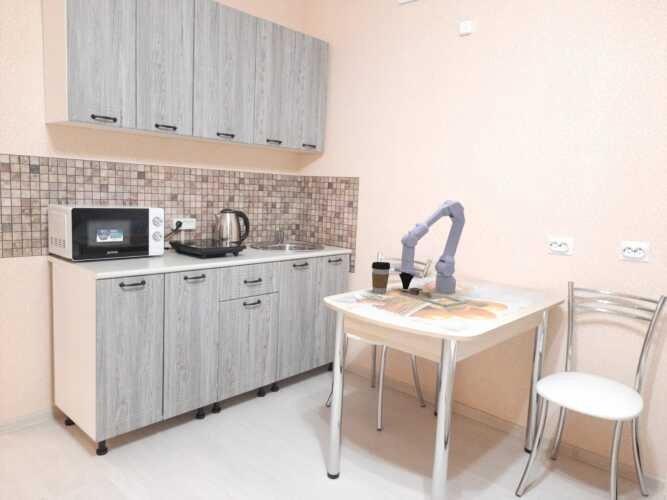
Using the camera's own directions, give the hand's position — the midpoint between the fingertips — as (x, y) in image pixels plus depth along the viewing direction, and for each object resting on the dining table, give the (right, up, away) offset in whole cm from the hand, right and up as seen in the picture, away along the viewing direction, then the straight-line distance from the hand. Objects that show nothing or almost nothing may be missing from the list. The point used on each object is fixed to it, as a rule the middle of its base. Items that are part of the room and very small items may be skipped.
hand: (405, 289), depth 234 cm
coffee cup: (-13, -2, -5) cm, 14 cm away
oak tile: (+7, -3, -9) cm, 12 cm away
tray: (+14, -5, -17) cm, 23 cm away
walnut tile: (+4, -2, -5) cm, 7 cm away
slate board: (+6, -4, -7) cm, 10 cm away
